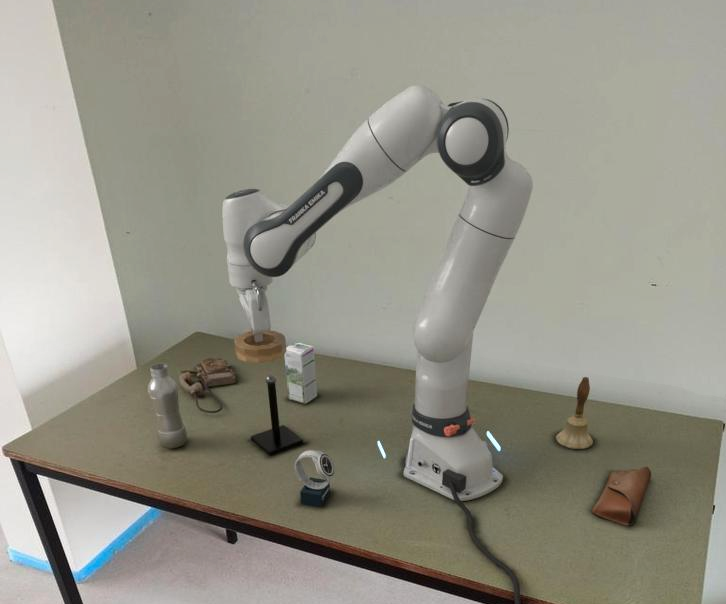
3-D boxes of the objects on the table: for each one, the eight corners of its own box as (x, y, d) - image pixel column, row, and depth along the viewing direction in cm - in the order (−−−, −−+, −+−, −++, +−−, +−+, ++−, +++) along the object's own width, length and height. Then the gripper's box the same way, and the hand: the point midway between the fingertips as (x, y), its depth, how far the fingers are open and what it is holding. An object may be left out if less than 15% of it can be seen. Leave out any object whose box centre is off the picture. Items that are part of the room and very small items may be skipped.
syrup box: (317, 396, 179) (314, 345, 171) (304, 405, 175) (301, 353, 167) (300, 391, 181) (297, 340, 173) (287, 399, 177) (282, 348, 169)
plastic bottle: (181, 452, 155) (166, 373, 144) (154, 450, 156) (137, 371, 146) (192, 438, 161) (179, 361, 150) (166, 436, 162) (151, 359, 151)
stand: (303, 444, 158) (298, 376, 148) (269, 456, 153) (262, 387, 144) (283, 429, 164) (277, 363, 155) (251, 440, 160) (243, 373, 150)
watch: (329, 509, 136) (327, 463, 130) (293, 502, 138) (289, 457, 132) (338, 493, 140) (337, 449, 134) (303, 487, 142) (299, 443, 136)
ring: (295, 354, 142) (294, 340, 140) (251, 367, 136) (250, 354, 134) (269, 338, 149) (268, 326, 147) (226, 351, 143) (224, 338, 142)
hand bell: (558, 429, 162) (568, 368, 153) (594, 435, 159) (606, 373, 151) (553, 446, 155) (563, 383, 147) (590, 452, 153) (603, 388, 144)
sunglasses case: (608, 469, 146) (630, 450, 141) (634, 490, 145) (657, 471, 141) (590, 513, 132) (613, 494, 128) (618, 536, 132) (642, 518, 127)
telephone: (194, 420, 168) (192, 405, 166) (173, 370, 194) (171, 356, 191) (253, 411, 173) (252, 396, 171) (224, 364, 199) (223, 350, 197)
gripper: (274, 287, 130) (280, 354, 137) (258, 259, 146) (264, 320, 154) (242, 291, 128) (249, 358, 136) (229, 262, 145) (236, 323, 152)
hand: (257, 337), depth 145 cm, fingers closed on ring, 2 cm apart
